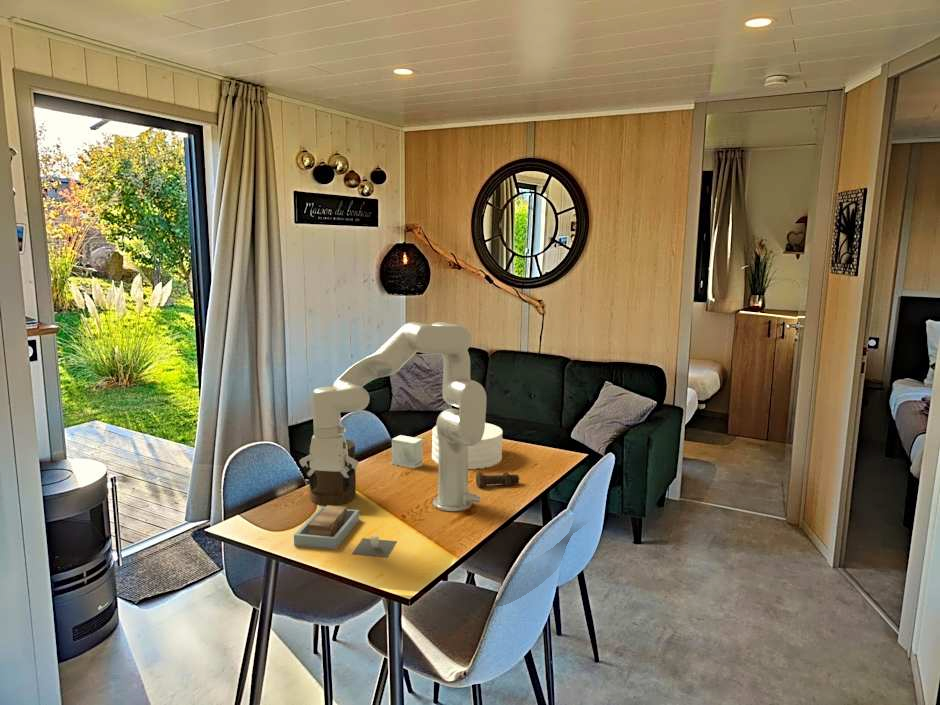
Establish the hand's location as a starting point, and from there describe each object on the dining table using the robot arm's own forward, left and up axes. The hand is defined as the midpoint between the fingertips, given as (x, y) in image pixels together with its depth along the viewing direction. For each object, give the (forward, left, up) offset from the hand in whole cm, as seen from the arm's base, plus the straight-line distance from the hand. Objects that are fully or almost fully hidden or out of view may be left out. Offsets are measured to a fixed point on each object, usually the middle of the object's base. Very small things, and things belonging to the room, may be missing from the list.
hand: (330, 488), depth 186 cm
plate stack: (-27, -78, -14) cm, 84 cm away
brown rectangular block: (0, +1, -13) cm, 13 cm away
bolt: (-43, -50, -14) cm, 68 cm away
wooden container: (+10, -27, -14) cm, 32 cm away
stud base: (-15, +8, -14) cm, 22 cm away
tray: (+1, +1, -14) cm, 14 cm away
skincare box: (-6, -64, -14) cm, 66 cm away
